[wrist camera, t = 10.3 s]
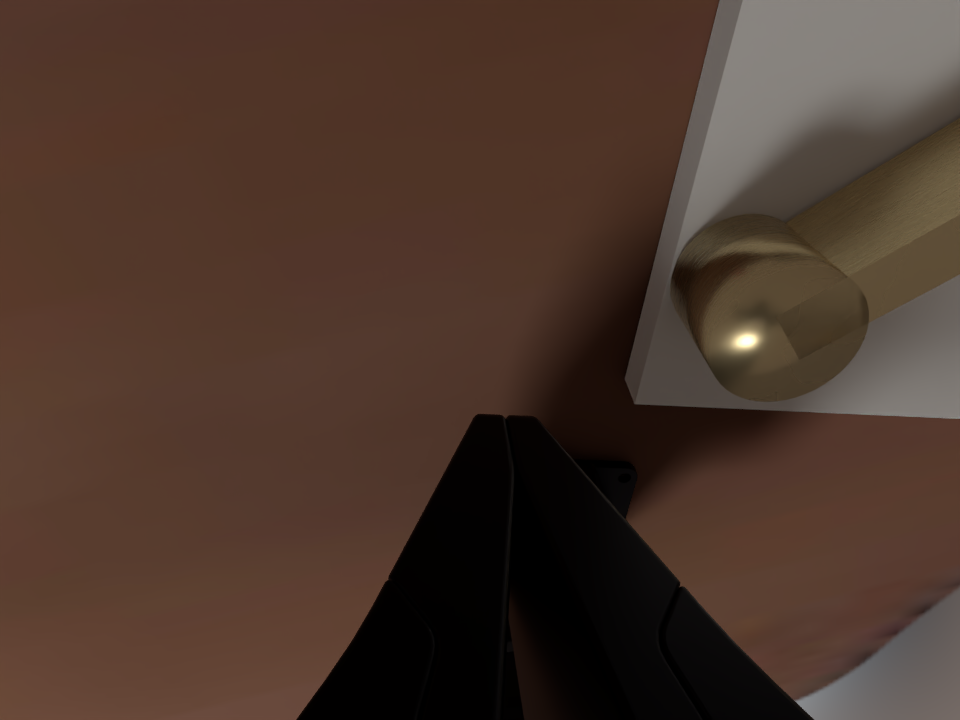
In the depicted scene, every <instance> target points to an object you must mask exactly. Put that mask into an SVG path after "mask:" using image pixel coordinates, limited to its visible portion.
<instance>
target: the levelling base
mask: <svg viewBox="0 0 960 720" xmlns="http://www.w3.org/2000/svg"><path fill="white" fill-rule="evenodd" d="M959 118H960V0H720V1H719V5H718V9H717V13H716V17H715V21H714V25H713V29H712V33H711V37H710V41H709V45H708V49H707V53H706V57H705V61H704V65H703V69H702V73H701V77H700V81H699V85H698V89H697V93H696V97H695V101H694V105H693V109H692V113H691V117H690V121H689V125H688V129H687V133H686V137H685V141H684V145H683V149H682V153H681V157H680V161H679V164H678V168H677V172H676V176H675V180H674V184H673V188H672V192H671V196H670V200H669V204H668V208H667V212H666V216H665V220H664V224H663V228H662V232H661V236H660V240H659V244H658V248H657V252H656V256H655V260H654V264H653V268H652V272H651V276H650V280H649V284H648V288H647V292H646V296H645V300H644V304H643V308H642V312H641V316H640V320H639V324H638V328H637V332H636V336H635V340H634V344H633V348H632V352H631V356H630V360H629V364H628V368H627V372H626V376H625V381H626V384H627V386H628V389H629V391H630V394H631V396H632V399H633V401H634V404H641V405H664V406H686V407H708V408H730V409H753V410H775V411H797V412H819V413H842V414H864V415H886V416H908V417H931V418H953V419H960V275H958V276H956V277H954V278H952V279H950V280H949V281H947V282H945V283H943V284H941V285H939V286H937V287H935V288H934V289H932V290H930V291H928V292H926V293H924V294H922V295H920V296H918V297H917V298H915V299H913V300H911V301H909V302H907V303H905V304H903V305H902V306H900V307H898V308H896V309H894V310H892V311H890V312H888V313H886V314H885V315H883V316H881V317H879V318H877V319H875V320H873V321H871V322H870V323H869V324H868V329H867V333H866V336H865V339H864V341H863V343H862V345H861V347H860V349H859V350H858V352H857V354H856V355H855V357H854V358H853V359H852V360H851V362H850V363H849V364H848V365H847V366H846V367H845V368H844V369H843V370H842V371H841V372H840V373H839V374H838V375H836V376H835V377H834V378H833V379H831V380H830V381H828V382H827V383H826V384H824V385H822V386H821V387H819V388H817V389H815V390H813V391H811V392H809V393H807V394H804V395H801V396H798V397H796V398H792V399H788V400H782V401H775V402H759V401H752V400H747V399H744V398H741V397H738V396H736V395H734V394H732V393H731V392H729V391H728V390H726V389H725V388H724V387H723V386H722V385H721V384H720V383H719V382H718V380H717V379H716V378H715V376H714V374H713V373H712V371H711V369H710V368H709V366H708V364H707V363H706V361H705V359H704V358H703V356H702V354H701V352H700V351H699V349H698V347H697V346H696V344H695V342H694V341H693V339H692V337H691V336H690V334H689V332H688V331H687V329H686V327H685V326H684V324H683V322H682V321H681V319H680V317H679V316H678V314H677V312H676V310H675V308H674V306H673V303H672V300H671V294H670V283H671V277H672V273H673V270H674V267H675V265H676V262H677V260H678V259H679V257H680V255H681V253H682V252H683V251H684V249H685V248H686V247H687V246H688V244H689V243H690V242H691V241H692V240H693V239H694V238H695V237H696V236H698V235H699V234H700V233H701V232H703V231H704V230H705V229H707V228H708V227H710V226H712V225H714V224H715V223H717V222H720V221H722V220H724V219H727V218H730V217H734V216H738V215H743V214H764V215H768V216H772V217H775V218H778V219H780V220H782V221H784V222H785V223H786V222H787V221H789V220H791V219H792V218H794V217H796V216H797V215H799V214H801V213H802V212H804V211H806V210H807V209H809V208H811V207H812V206H814V205H816V204H817V203H819V202H821V201H822V200H824V199H826V198H827V197H829V196H831V195H832V194H834V193H836V192H837V191H839V190H841V189H842V188H844V187H846V186H847V185H849V184H851V183H852V182H854V181H855V180H857V179H859V178H860V177H862V176H864V175H865V174H867V173H869V172H870V171H872V170H874V169H875V168H877V167H879V166H880V165H882V164H884V163H885V162H887V161H889V160H890V159H892V158H894V157H895V156H897V155H899V154H900V153H902V152H904V151H905V150H907V149H909V148H910V147H912V146H914V145H915V144H917V143H919V142H920V141H922V140H924V139H925V138H927V137H929V136H930V135H932V134H934V133H935V132H937V131H939V130H940V129H942V128H944V127H945V126H947V125H949V124H950V123H952V122H954V121H955V120H957V119H959Z"/></svg>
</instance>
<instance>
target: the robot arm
mask: <svg viewBox="0 0 960 720" xmlns="http://www.w3.org/2000/svg"><path fill="white" fill-rule="evenodd" d="M624 473H627V474H626V475H624V476H620V475H621V474H624ZM636 481H637V473H636V470H635V467H634V466H633V464H631V463H630V462H624V461H597V460H573V459H572V458H571V457H570V456H569V454H568V453H567V452H566V451H565V450H564V449H563V448H562V446H561V445H560V444H559V443H558V442H557V441H556V440H555V438H554V437H553V436H552V435H551V434H550V433H549V432H548V430H547V429H546V428H545V427H544V426H543V425H542V424H541V422H540V421H539V420H538V419H537V418H535V417H533V416H517V415H509V416H508V417H507V418H506V419H505V418H504V417H503V416H502V415H493V414H477V415H476V416H475V417H474V418H473V420H472V422H471V424H470V425H469V427H468V429H467V431H466V433H465V435H464V437H463V439H462V440H461V442H460V444H459V446H458V448H457V450H456V452H455V454H454V455H453V457H452V459H451V461H450V463H449V465H448V467H447V468H446V470H445V472H444V474H443V476H442V478H441V480H440V482H439V483H438V485H437V487H436V489H435V491H434V493H433V495H432V496H431V498H430V500H429V502H428V504H427V506H426V508H425V510H424V511H423V513H422V515H421V517H420V519H419V521H418V523H417V524H416V526H415V528H414V530H413V532H412V534H411V536H410V538H409V539H408V541H407V543H406V545H405V547H404V549H403V551H402V552H401V554H400V556H399V558H398V560H397V562H396V564H395V566H394V567H393V569H392V571H391V573H390V575H389V578H388V580H387V581H386V582H385V584H384V585H383V587H382V589H381V591H380V593H379V595H378V597H377V598H376V600H375V602H374V604H373V606H372V607H371V609H370V611H369V613H368V614H367V616H366V618H365V619H364V621H363V623H362V625H361V626H360V628H359V630H358V631H357V633H356V635H355V636H354V638H353V640H352V641H351V643H350V644H349V646H348V647H347V649H346V650H345V652H344V653H343V655H342V656H341V658H340V659H339V661H338V662H337V663H336V665H335V666H334V668H333V669H332V671H331V672H330V674H329V675H328V677H327V678H326V680H325V681H324V682H323V684H322V685H321V687H320V688H319V689H318V691H317V692H316V693H315V695H314V696H313V697H312V699H311V700H310V702H309V703H308V704H307V706H306V707H305V708H304V710H303V711H302V713H301V714H300V715H299V717H298V718H297V719H296V720H814V719H813V718H812V717H811V716H810V715H808V714H807V712H805V711H804V710H803V709H802V708H801V707H800V706H799V705H798V704H797V703H796V702H795V701H794V700H793V699H792V698H791V697H790V696H789V695H788V694H787V693H786V692H784V691H783V690H782V689H781V688H780V687H779V686H778V685H777V684H776V683H775V682H774V681H773V680H772V679H771V678H770V677H769V676H768V675H767V674H766V673H765V672H764V671H763V670H762V669H761V668H760V667H759V666H758V665H757V664H756V663H755V662H754V661H753V660H752V659H751V658H750V657H749V656H748V655H747V654H746V653H745V652H744V651H743V650H742V649H741V648H740V647H739V646H738V645H737V644H736V643H735V642H734V641H733V640H732V639H731V638H730V637H729V636H728V635H727V633H726V632H725V631H724V630H723V629H722V628H721V627H720V626H719V625H718V624H717V623H716V621H715V620H714V619H713V618H712V617H711V616H710V615H709V614H708V613H707V612H706V611H705V610H704V608H703V607H702V606H701V605H700V604H699V603H698V602H697V600H696V599H695V598H694V597H693V596H692V595H691V594H690V592H689V591H688V590H687V589H686V588H685V587H683V586H682V587H680V581H679V580H678V579H677V578H676V577H675V576H674V574H673V573H672V572H671V571H670V570H669V569H668V568H667V566H666V565H665V564H664V563H663V562H662V561H661V560H660V558H659V557H658V556H657V555H656V554H655V553H654V552H653V550H652V549H651V548H650V547H649V546H648V545H647V544H646V542H645V541H644V540H643V539H642V538H641V537H640V536H639V534H638V533H637V532H636V531H635V530H634V529H633V528H632V526H631V525H630V524H629V523H628V522H627V521H626V520H625V518H626V515H627V511H628V508H629V505H630V501H631V498H632V494H633V491H634V488H635V484H636ZM679 587H680V588H679Z"/></svg>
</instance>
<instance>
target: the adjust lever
mask: <svg viewBox="0 0 960 720" xmlns="http://www.w3.org/2000/svg"><path fill="white" fill-rule="evenodd" d="M958 275H960V118H959V119H957V120H955V121H954V122H952V123H950V124H949V125H947V126H945V127H944V128H942V129H940V130H939V131H937V132H935V133H934V134H932V135H930V136H929V137H927V138H925V139H924V140H922V141H920V142H919V143H917V144H915V145H914V146H912V147H910V148H909V149H907V150H905V151H904V152H902V153H900V154H899V155H897V156H895V157H894V158H892V159H890V160H889V161H887V162H885V163H884V164H882V165H880V166H879V167H877V168H875V169H874V170H872V171H870V172H869V173H867V174H865V175H864V176H862V177H860V178H859V179H857V180H855V181H854V182H852V183H851V184H849V185H847V186H846V187H844V188H842V189H841V190H839V191H837V192H836V193H834V194H832V195H831V196H829V197H827V198H826V199H824V200H822V201H821V202H819V203H817V204H816V205H814V206H812V207H811V208H809V209H807V210H806V211H804V212H802V213H801V214H799V215H797V216H796V217H794V218H792V219H791V220H789V221H787V222H786V223H785V222H784V221H782V220H780V219H778V218H775V217H772V216H768V215H764V214H743V215H738V216H734V217H730V218H727V219H724V220H722V221H720V222H717V223H715V224H714V225H712V226H710V227H708V228H707V229H705V230H704V231H703V232H701V233H700V234H699V235H698V236H696V237H695V238H694V239H693V240H692V241H691V242H690V243H689V244H688V246H687V247H686V248H685V249H684V251H683V252H682V253H681V255H680V257H679V259H678V260H677V262H676V265H675V267H674V270H673V273H672V277H671V283H670V294H671V300H672V303H673V306H674V308H675V310H676V312H677V314H678V316H679V317H680V319H681V321H682V322H683V324H684V326H685V327H686V329H687V331H688V332H689V334H690V336H691V337H692V339H693V341H694V342H695V344H696V346H697V347H698V349H699V351H700V352H701V354H702V356H703V358H704V359H705V361H706V363H707V364H708V366H709V368H710V369H711V371H712V373H713V374H714V376H715V378H716V379H717V380H718V382H719V383H720V384H721V385H722V386H723V387H724V388H725V389H726V390H728V391H729V392H731V393H732V394H734V395H736V396H738V397H741V398H744V399H747V400H752V401H759V402H775V401H782V400H788V399H792V398H796V397H798V396H801V395H804V394H807V393H809V392H811V391H813V390H815V389H817V388H819V387H821V386H822V385H824V384H826V383H827V382H828V381H830V380H831V379H833V378H834V377H835V376H836V375H838V374H839V373H840V372H841V371H842V370H843V369H844V368H845V367H846V366H847V365H848V364H849V363H850V362H851V360H852V359H853V358H854V357H855V355H856V354H857V352H858V350H859V349H860V347H861V345H862V343H863V341H864V339H865V336H866V333H867V329H868V324H869V323H870V322H871V321H873V320H875V319H877V318H879V317H881V316H883V315H885V314H886V313H888V312H890V311H892V310H894V309H896V308H898V307H900V306H902V305H903V304H905V303H907V302H909V301H911V300H913V299H915V298H917V297H918V296H920V295H922V294H924V293H926V292H928V291H930V290H932V289H934V288H935V287H937V286H939V285H941V284H943V283H945V282H947V281H949V280H950V279H952V278H954V277H956V276H958Z"/></svg>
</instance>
